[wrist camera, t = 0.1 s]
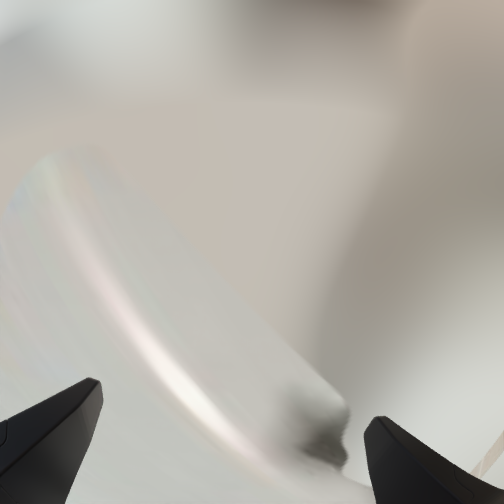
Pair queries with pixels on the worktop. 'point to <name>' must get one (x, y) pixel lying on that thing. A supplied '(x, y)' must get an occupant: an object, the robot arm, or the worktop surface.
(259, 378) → the worktop surface
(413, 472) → the robot arm
